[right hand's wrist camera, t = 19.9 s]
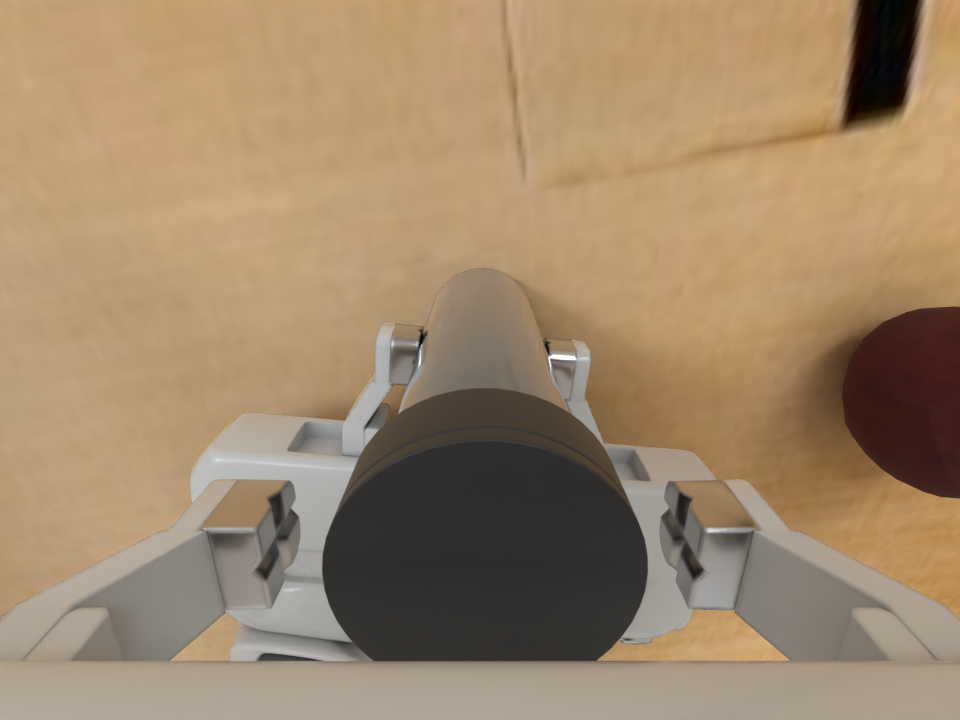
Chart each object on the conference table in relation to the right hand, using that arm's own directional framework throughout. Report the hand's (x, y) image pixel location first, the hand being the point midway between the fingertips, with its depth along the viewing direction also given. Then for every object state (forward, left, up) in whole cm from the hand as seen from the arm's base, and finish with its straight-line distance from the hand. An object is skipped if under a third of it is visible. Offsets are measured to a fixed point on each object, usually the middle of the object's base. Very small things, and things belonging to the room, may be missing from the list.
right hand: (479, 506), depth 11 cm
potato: (-14, +13, -14) cm, 24 cm away
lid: (0, 0, +2) cm, 2 cm away
